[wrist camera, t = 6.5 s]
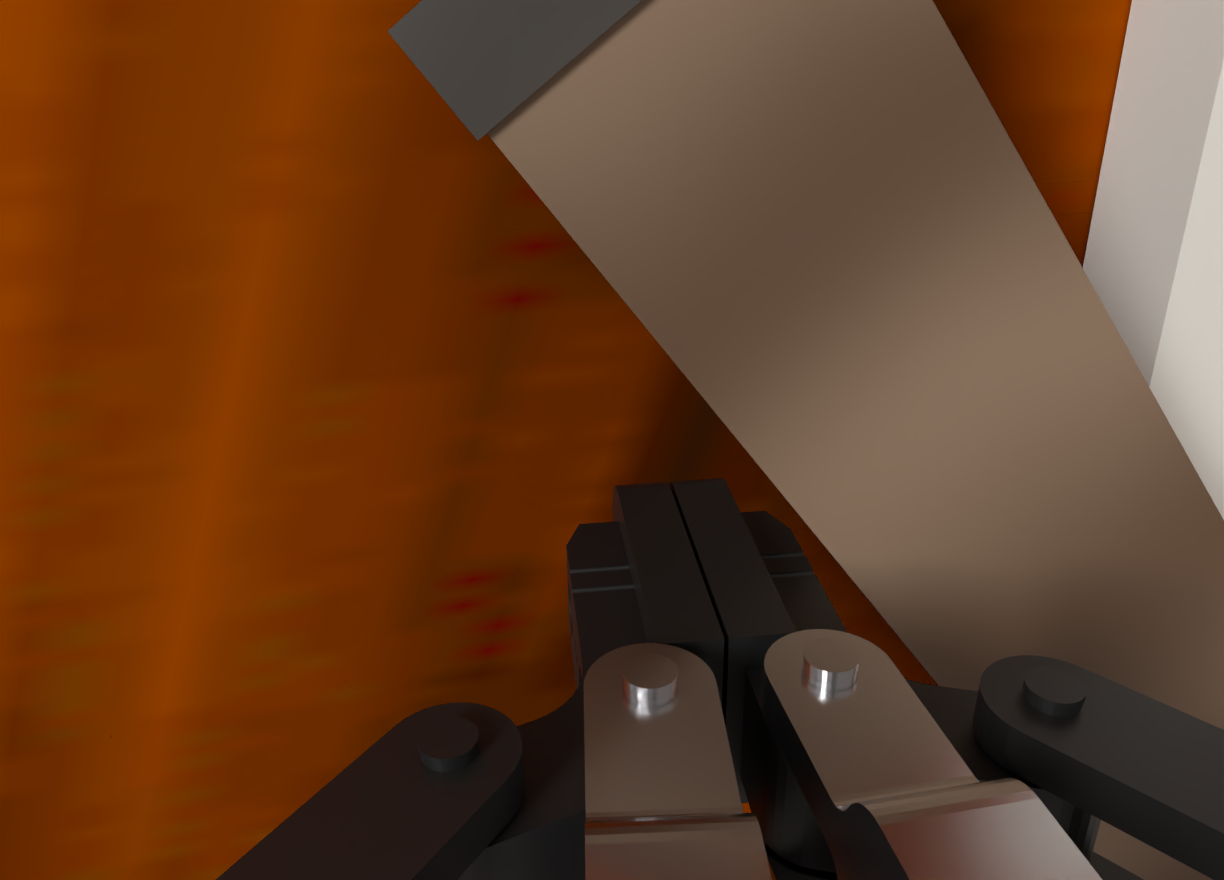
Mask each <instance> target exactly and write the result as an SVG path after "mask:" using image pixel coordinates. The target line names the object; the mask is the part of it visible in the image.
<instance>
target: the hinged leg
mask: <svg viewBox="0 0 1224 880" xmlns="http://www.w3.org/2000/svg"><path fill="white" fill-rule="evenodd" d="M388 33H389V34H390V35H391V36H392V37H393V39H394V40H395V41H396V42H397V44H398V45H399V46H400V47H401V48H402V50H403V51H404V52H405V53H406V54H407V56H408V57H409V58H410V59H411V60H412V62H413V63H414V64H415V65H416V67H417V68H418V69H419V70H420V71H421V73H422V74H423V75H424V76H425V77H426V79H427V80H428V81H429V82H430V83H431V85H432V86H433V87H434V88H435V90H436V91H437V92H438V93H439V94H440V96H441V97H442V98H443V99H444V100H445V102H446V103H447V104H448V105H449V107H450V108H451V109H452V110H453V111H454V113H455V114H456V115H457V116H458V117H459V119H460V120H461V121H462V122H463V123H464V125H465V126H466V127H467V128H468V130H469V131H470V132H471V133H472V134H473V136H474V137H475V138H476V139H477V140H479V139H480V138H481V137H483V136H484V135H485V134H486V133H487V134H488V135H489V136H490V138H491V139H492V140H493V141H494V143H495V144H496V145H497V146H498V147H499V149H500V150H501V151H502V152H503V154H504V155H505V156H506V157H507V158H508V160H509V161H510V162H511V163H512V165H513V166H514V167H515V168H516V169H517V171H518V172H519V173H520V174H521V176H522V177H523V178H524V179H525V180H526V182H527V183H528V184H529V185H530V187H531V188H532V189H533V190H534V191H535V193H536V194H537V195H538V196H539V198H540V199H541V200H542V201H543V202H544V204H545V205H546V206H547V207H548V209H549V210H550V211H551V212H552V213H553V215H554V216H555V217H556V218H557V220H558V221H559V222H560V223H561V224H562V226H563V227H564V228H565V229H566V231H567V232H568V233H569V234H570V235H571V237H572V238H573V239H574V240H575V242H576V243H577V244H578V245H579V246H580V248H581V249H582V250H583V251H584V253H585V254H586V255H587V256H588V257H589V259H590V260H591V261H592V262H593V264H594V265H595V266H596V267H597V268H598V270H599V271H600V272H601V273H602V275H603V276H604V277H605V278H606V279H607V281H608V282H609V283H610V284H611V286H612V287H613V288H614V289H615V290H616V292H617V293H618V294H619V295H620V297H621V298H622V299H623V300H624V301H625V303H626V304H627V305H628V306H629V308H630V309H631V310H632V311H633V312H634V314H635V315H636V316H637V317H638V319H639V320H640V321H641V322H642V323H643V325H644V326H645V327H646V328H647V330H648V331H649V332H650V333H651V334H652V336H653V337H654V338H655V339H656V341H657V342H658V343H659V344H660V345H661V347H662V348H663V349H664V350H665V352H666V353H667V354H668V355H669V356H670V358H671V359H672V360H673V361H674V363H675V364H676V365H677V366H678V367H679V369H680V370H681V371H682V372H683V374H684V375H685V376H686V377H687V378H688V380H689V381H690V382H691V383H692V385H693V386H694V387H695V388H696V389H697V391H698V392H699V393H700V394H701V396H702V397H703V398H704V399H705V400H706V402H707V403H708V404H709V405H710V407H711V408H712V409H713V410H714V411H715V413H716V414H717V415H718V416H719V418H720V419H721V420H722V421H723V422H724V424H725V425H726V426H727V427H728V429H729V430H730V431H731V432H732V433H733V435H734V436H735V437H736V438H737V440H738V441H739V442H740V443H741V444H742V446H743V447H744V448H745V449H746V451H747V452H748V453H749V454H750V455H751V457H752V458H753V459H754V460H755V462H756V463H757V464H758V465H759V466H760V468H761V469H762V470H763V471H764V473H765V474H766V475H767V476H768V477H769V479H770V480H771V481H772V482H773V484H774V485H775V486H776V487H777V488H778V490H779V491H780V492H781V493H782V495H783V496H784V497H785V498H786V499H787V501H788V502H789V503H790V504H791V506H792V507H793V508H794V509H795V510H796V512H797V513H798V514H799V515H800V517H801V518H802V519H803V520H804V521H805V523H806V524H807V525H808V526H809V528H810V529H811V530H812V531H813V532H814V534H815V535H816V536H817V537H818V539H819V540H820V541H821V542H822V543H823V545H824V546H825V547H826V548H827V550H828V551H829V552H830V553H831V554H832V556H833V557H834V558H835V559H836V561H837V562H838V563H839V564H840V565H841V567H842V568H843V569H844V570H845V572H846V573H847V574H848V575H849V576H850V578H851V579H852V580H853V581H854V583H855V584H856V585H857V586H858V587H859V589H860V590H861V591H862V592H863V594H864V595H865V596H866V597H867V598H868V600H869V601H870V602H871V603H872V605H873V606H874V607H875V608H876V609H877V611H878V612H879V613H880V614H881V616H882V617H883V618H884V619H885V620H886V622H887V623H888V624H889V625H890V627H891V628H892V629H893V630H894V631H895V633H896V634H897V635H898V636H899V638H900V639H901V640H902V641H903V642H904V644H905V645H906V646H907V647H908V649H909V650H910V651H911V652H912V653H913V655H914V656H915V657H916V658H917V660H918V661H919V662H920V663H921V664H922V666H923V667H924V668H925V669H926V671H927V672H928V673H929V674H930V675H931V677H932V678H933V679H934V680H935V682H936V683H937V684H938V685H939V686H943V687H950V688H958V689H965V690H973V691H978V689H979V684H980V679H981V676H982V674H983V672H984V671H985V670H986V668H987V667H988V666H990V665H991V664H992V663H994V662H996V661H998V660H1001V659H1004V658H1007V657H1012V656H1020V655H1034V656H1045V657H1050V658H1055V659H1059V660H1062V661H1066V662H1069V663H1072V664H1074V665H1077V666H1079V667H1082V668H1084V669H1086V670H1089V671H1091V672H1093V673H1095V674H1098V675H1100V676H1102V677H1105V678H1107V679H1109V680H1111V681H1114V682H1116V683H1118V684H1120V685H1123V686H1125V687H1127V688H1130V689H1132V690H1134V691H1136V692H1139V693H1141V694H1143V695H1146V696H1148V697H1150V698H1152V699H1155V700H1157V701H1159V702H1161V703H1164V704H1166V705H1168V706H1171V707H1173V708H1175V709H1177V710H1180V711H1182V712H1184V713H1186V714H1189V715H1191V716H1193V717H1196V718H1198V719H1200V720H1202V721H1205V722H1207V723H1209V724H1211V725H1214V726H1216V727H1218V728H1221V729H1223V730H1224V520H1223V518H1222V516H1221V514H1220V512H1219V511H1218V509H1217V507H1216V505H1215V504H1214V502H1213V500H1212V498H1211V496H1210V495H1209V493H1208V491H1207V489H1206V487H1205V486H1204V484H1203V482H1202V480H1201V479H1200V477H1199V475H1198V473H1197V471H1196V470H1195V468H1194V466H1193V464H1192V463H1191V461H1190V459H1189V457H1188V455H1187V454H1186V452H1185V450H1184V448H1183V446H1182V445H1181V443H1180V441H1179V439H1178V438H1177V436H1176V434H1175V432H1174V430H1173V429H1172V427H1171V425H1170V423H1169V421H1168V420H1167V418H1166V416H1165V414H1164V413H1163V411H1162V409H1161V407H1160V405H1159V404H1158V402H1157V400H1156V398H1155V396H1154V395H1153V393H1152V391H1151V389H1150V388H1149V386H1148V384H1147V382H1146V380H1145V379H1144V377H1143V375H1142V373H1141V371H1140V370H1139V368H1138V366H1137V364H1136V363H1135V361H1134V359H1133V357H1132V355H1131V354H1130V352H1129V350H1128V348H1127V346H1126V345H1125V343H1124V341H1123V339H1122V338H1121V336H1120V334H1119V332H1118V330H1117V329H1116V327H1115V325H1114V323H1113V321H1112V320H1111V318H1110V316H1109V314H1108V313H1107V311H1106V309H1105V307H1104V305H1103V304H1102V302H1101V300H1100V298H1099V297H1098V295H1097V293H1096V291H1095V289H1094V288H1093V286H1092V284H1091V282H1090V280H1089V279H1088V277H1087V275H1086V273H1085V272H1084V270H1083V268H1082V266H1081V264H1080V263H1079V261H1078V259H1077V257H1076V255H1075V254H1074V252H1073V250H1072V248H1071V247H1070V245H1069V243H1068V241H1067V239H1066V238H1065V236H1064V234H1063V232H1062V230H1061V229H1060V227H1059V225H1058V223H1057V222H1056V220H1055V218H1054V216H1053V214H1052V213H1051V211H1050V209H1049V207H1048V205H1047V204H1046V202H1045V200H1044V198H1043V197H1042V195H1041V193H1040V191H1039V189H1038V188H1037V186H1036V184H1035V182H1034V180H1033V179H1032V177H1031V175H1030V173H1029V172H1028V170H1027V168H1026V166H1025V164H1024V163H1023V161H1022V159H1021V157H1020V155H1019V154H1018V152H1017V150H1016V148H1015V147H1014V145H1013V143H1012V141H1011V139H1010V138H1009V136H1008V134H1007V132H1006V131H1005V129H1004V127H1003V125H1002V123H1001V122H1000V120H999V118H998V116H997V114H996V113H995V111H994V109H993V107H992V106H991V104H990V102H989V100H988V98H987V97H986V95H985V93H984V91H983V89H982V88H981V86H980V84H979V82H978V81H977V79H976V77H975V75H974V73H973V72H972V70H971V68H970V66H969V64H968V63H967V61H966V59H965V57H964V56H963V54H962V52H961V50H960V48H959V47H958V45H957V43H956V41H955V39H954V38H953V36H952V34H951V32H950V31H949V29H948V27H947V25H946V23H945V22H944V20H943V18H942V16H941V14H940V13H939V11H938V9H937V7H936V6H935V4H934V2H933V0H422V1H421V2H420V3H418V4H417V5H416V6H415V7H414V8H413V9H412V10H411V11H410V12H408V13H407V14H406V15H405V16H404V17H403V18H402V19H401V20H400V21H399V22H397V23H396V24H395V25H394V26H393V27H392V28H391V29H390V30H389V31H388ZM1093 852H1095V853H1097V854H1099V855H1101V856H1102V857H1104V858H1106V859H1108V860H1110V861H1111V862H1113V863H1115V864H1117V865H1119V866H1120V867H1122V868H1124V869H1126V870H1128V871H1129V872H1131V873H1133V874H1135V875H1137V876H1138V877H1140V878H1142V879H1144V880H1213V879H1211V878H1209V877H1207V876H1206V875H1204V874H1202V873H1200V872H1198V871H1196V870H1194V869H1192V868H1191V867H1189V866H1187V865H1185V864H1183V863H1181V862H1179V861H1177V860H1176V859H1174V858H1172V857H1170V856H1168V855H1166V854H1164V853H1162V852H1161V851H1159V850H1157V849H1155V848H1153V847H1151V846H1149V845H1147V844H1146V843H1144V842H1142V841H1140V840H1138V839H1136V838H1134V837H1132V836H1130V835H1129V834H1127V833H1125V832H1123V831H1121V830H1119V829H1117V828H1115V827H1114V826H1112V825H1110V824H1108V823H1106V822H1104V821H1102V820H1101V822H1100V826H1099V830H1098V834H1097V837H1096V841H1095V845H1094V849H1093Z"/></svg>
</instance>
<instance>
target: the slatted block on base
mask: <svg viewBox="0 0 1224 880" xmlns="http://www.w3.org/2000/svg"><path fill="white" fill-rule="evenodd" d="M1083 270H1084V272H1085V273H1086V275H1087V277H1088V279H1089V280H1090V282H1091V284H1092V286H1093V288H1094V289H1095V291H1096V293H1097V295H1098V297H1099V298H1100V300H1101V302H1102V304H1103V305H1104V307H1105V309H1106V311H1107V313H1108V314H1109V316H1110V318H1111V320H1112V321H1113V323H1114V325H1115V327H1116V329H1117V330H1118V332H1119V334H1120V336H1121V338H1122V339H1123V341H1124V343H1125V345H1126V346H1127V348H1128V350H1129V352H1130V354H1131V355H1132V357H1133V359H1134V361H1135V363H1136V364H1137V366H1138V368H1139V370H1140V371H1141V373H1142V375H1143V377H1144V379H1145V380H1146V382H1147V384H1148V386H1149V388H1150V389H1151V391H1152V393H1153V395H1154V396H1155V398H1156V400H1157V402H1158V404H1159V405H1160V407H1161V409H1162V411H1163V413H1164V414H1165V416H1166V418H1167V420H1168V421H1169V423H1170V425H1171V427H1172V429H1173V430H1174V432H1175V434H1176V436H1177V438H1178V439H1179V441H1180V443H1181V445H1182V446H1183V448H1184V450H1185V452H1186V454H1187V455H1188V457H1189V459H1190V461H1191V463H1192V464H1193V466H1194V468H1195V470H1196V471H1197V473H1198V475H1199V477H1200V479H1201V480H1202V482H1203V484H1204V486H1205V487H1206V489H1207V491H1208V493H1209V495H1210V496H1211V498H1212V500H1213V502H1214V504H1215V505H1216V507H1217V509H1218V511H1219V512H1220V514H1221V516H1222V518H1223V520H1224V0H1132V4H1131V9H1130V14H1129V20H1128V25H1127V31H1126V36H1125V42H1124V47H1123V52H1122V58H1121V63H1120V69H1119V74H1118V79H1117V85H1116V90H1115V96H1114V101H1113V107H1112V112H1111V117H1110V123H1109V128H1108V134H1107V139H1106V145H1105V150H1104V155H1103V161H1102V166H1101V172H1100V177H1099V182H1098V188H1097V193H1096V199H1095V204H1094V210H1093V215H1092V220H1091V226H1090V231H1089V237H1088V242H1087V247H1086V253H1085V258H1084V264H1083Z"/></svg>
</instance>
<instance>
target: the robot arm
mask: <svg viewBox="0 0 1224 880" xmlns="http://www.w3.org/2000/svg"><path fill="white" fill-rule="evenodd" d="M613 521H614V522H604V523H590V524H579V526H578V527H577V529H576V531H575V532H574V534H573V536H572V537H571V539H570V541H569V542H568V544H567V571H568V595H569V619H570V641H571V649H572V657H573V665H574V673H575V681H576V688H577V690H576V692H575V693H574V694H573V696H572V697H571V698H570V699H569V700H568V701H567V702H566V703H565V704H564V705H562V706H561V707H559V708H558V709H557V710H555V711H553V712H552V713H550V714H548V715H546V716H544V717H542V718H539V719H537V720H534V721H531V722H529V723H526V724H523V725H520V726H517V727H516V725H515V724H514V723H513V722H512V721H511V719H509V718H508V717H507V716H506V715H504V714H503V713H501V712H499V711H497V710H495V709H493V708H490V707H487V706H484V705H480V704H474V703H448V704H442V705H436V706H433V707H429V708H426V709H424V710H421V711H419V712H416V713H414V714H412V715H411V716H409V717H407V718H405V719H404V720H402V721H401V722H400V723H398V724H397V725H396V726H395V727H393V728H392V729H391V730H390V731H389V732H388V733H386V734H385V735H384V736H383V737H382V738H381V739H379V740H378V741H377V742H376V743H375V744H374V745H372V746H371V747H370V748H369V749H368V750H367V751H365V752H364V753H363V754H362V755H361V756H360V757H358V758H357V759H356V760H355V761H354V762H353V763H351V764H350V765H349V766H348V767H347V768H346V769H344V770H343V771H342V772H341V773H340V774H339V775H337V776H336V777H335V778H334V779H333V780H332V781H330V782H329V783H328V784H327V785H326V786H325V787H323V788H322V789H321V790H320V791H319V792H318V793H316V794H315V795H314V796H313V797H312V798H311V799H309V800H308V801H307V802H306V803H305V804H304V805H302V806H301V807H300V808H299V809H298V810H297V811H295V812H294V813H293V814H292V815H291V816H290V817H288V818H287V819H286V820H285V821H284V822H283V823H281V824H280V825H279V826H278V827H277V828H276V829H274V830H273V831H272V832H271V833H270V834H269V835H267V836H266V837H265V838H264V839H263V840H262V841H260V842H259V843H258V844H257V845H256V846H255V847H253V848H252V849H251V850H250V851H249V852H248V853H246V854H245V855H244V856H243V857H242V858H241V859H239V860H238V861H237V862H236V863H235V864H234V865H232V866H231V867H230V868H229V869H228V870H227V871H225V872H224V873H223V874H222V875H221V876H220V877H218V878H217V879H216V880H1144V879H1142V878H1140V877H1138V876H1137V875H1135V874H1133V873H1131V872H1129V871H1128V870H1126V869H1124V868H1122V867H1120V866H1119V865H1117V864H1115V863H1113V862H1111V861H1110V860H1108V859H1106V858H1104V857H1102V856H1101V855H1099V854H1097V853H1095V852H1093V849H1094V845H1095V841H1096V837H1097V834H1098V830H1099V826H1100V822H1101V820H1102V821H1104V822H1106V823H1108V824H1110V825H1112V826H1114V827H1115V828H1117V829H1119V830H1121V831H1123V832H1125V833H1127V834H1129V835H1130V836H1132V837H1134V838H1136V839H1138V840H1140V841H1142V842H1144V843H1146V844H1147V845H1149V846H1151V847H1153V848H1155V849H1157V850H1159V851H1161V852H1162V853H1164V854H1166V855H1168V856H1170V857H1172V858H1174V859H1176V860H1177V861H1179V862H1181V863H1183V864H1185V865H1187V866H1189V867H1191V868H1192V869H1194V870H1196V871H1198V872H1200V873H1202V874H1204V875H1206V876H1207V877H1209V878H1211V879H1213V880H1224V730H1223V729H1221V728H1218V727H1216V726H1214V725H1211V724H1209V723H1207V722H1205V721H1202V720H1200V719H1198V718H1196V717H1193V716H1191V715H1189V714H1186V713H1184V712H1182V711H1180V710H1177V709H1175V708H1173V707H1171V706H1168V705H1166V704H1164V703H1161V702H1159V701H1157V700H1155V699H1152V698H1150V697H1148V696H1146V695H1143V694H1141V693H1139V692H1136V691H1134V690H1132V689H1130V688H1127V687H1125V686H1123V685H1120V684H1118V683H1116V682H1114V681H1111V680H1109V679H1107V678H1105V677H1102V676H1100V675H1098V674H1095V673H1093V672H1091V671H1089V670H1086V669H1084V668H1082V667H1079V666H1077V665H1074V664H1072V663H1069V662H1066V661H1062V660H1059V659H1055V658H1050V657H1045V656H1034V655H1020V656H1012V657H1007V658H1004V659H1001V660H998V661H996V662H994V663H992V664H991V665H990V666H988V667H987V668H986V670H985V671H984V672H983V674H982V676H981V679H980V684H979V689H978V691H973V690H965V689H958V688H950V687H943V686H935V685H929V684H923V683H918V682H914V681H911V680H907V679H905V678H904V677H903V676H902V674H901V673H900V671H899V670H898V669H897V667H896V666H895V665H894V663H893V662H892V660H891V659H890V658H889V657H888V656H887V654H886V653H885V652H883V651H882V650H881V649H880V648H879V647H877V646H876V645H874V644H873V643H871V642H869V641H867V640H865V639H863V638H861V637H859V636H856V635H853V634H850V633H847V631H846V629H845V627H844V626H843V624H842V622H841V620H840V618H839V616H838V615H837V613H836V611H835V609H834V607H833V606H832V604H831V602H830V600H829V598H828V596H827V595H826V593H825V591H824V589H823V587H822V586H821V584H820V582H819V580H818V578H817V576H816V575H813V569H812V567H811V566H810V564H809V562H808V560H807V558H806V556H803V551H802V549H801V547H800V546H799V544H798V542H797V540H796V538H795V536H794V535H793V533H792V531H791V529H789V528H788V527H787V526H785V525H784V524H782V523H781V522H780V521H778V520H777V519H775V518H774V517H773V516H771V515H770V514H768V513H767V512H766V511H757V512H743V513H740V511H739V509H738V506H737V504H736V502H735V500H734V498H733V496H732V494H731V492H730V490H729V487H728V485H727V483H726V481H725V480H724V479H723V478H719V479H705V480H690V481H675V482H670V483H668V482H662V483H647V484H632V485H617V486H614V492H613ZM748 802H749V805H750V809H751V812H752V813H743V809H742V805H741V803H748Z"/></svg>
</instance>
